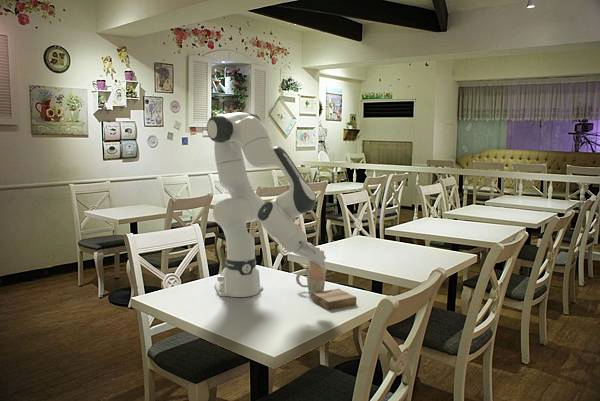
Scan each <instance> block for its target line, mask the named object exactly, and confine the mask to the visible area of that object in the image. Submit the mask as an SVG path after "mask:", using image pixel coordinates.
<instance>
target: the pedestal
mask: <svg viewBox="0 0 600 401" xmlns="http://www.w3.org/2000/svg"><path fill="white" fill-rule="evenodd" d="M312 302H314V303H316V304H318V305H319V306H321V307H323V308H325V309H326V310H328V311H332V310H336V309H342V308H348V307H351V306H357V296H355V295H354V294H351V293H349V292H347V291H345V290H343V289H340V288H336V289H329V290H328V289H327V290H324V291H322V292H316V293H313V294H312Z"/></svg>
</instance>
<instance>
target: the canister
mask: <svg viewBox="0 0 600 401" xmlns="http://www.w3.org/2000/svg"><path fill="white" fill-rule="evenodd" d="M316 248H317V249H319V250H320V251H321V252H322V253H323V254H324V255H325V251H324V250H321V248H320V247H316ZM315 254H316V253H315ZM309 266H310V267H309V279H310V280H313V281H320V280H323V279H324V267H325V266H324V267H323V268H321V267H319V266H318V265H317V264H316V263H314V262H312V261H309Z"/></svg>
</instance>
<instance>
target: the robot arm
mask: <svg viewBox="0 0 600 401" xmlns="http://www.w3.org/2000/svg"><path fill="white" fill-rule="evenodd" d="M206 124H207V125H206V131H207V135H208V137H209V138H210V139H211V141H213V142H214V143H213V144H214V145H213V146H214V158H215V165H216V169H217V175H218V179H219V180H218V181H219V184H220V186H222V188H224V189H225V190H226V191H227V192H228V193H229V195H230V197H228V198H225V199H223V200H221V201H219V202H216V203H215V204H214V207H213V210H212V216H213V218H214V221H215V224H217V225H218V226H219V227H220V228H221V229H222V231H223V233H224V237H225V243H226V259H225V264H224V265H225V267H224V268H223V269H222V271H221V272H220V273H219V275H217V282H216V283H214V288H215V291H217V294H218V296H219V297H220V296H221V297H231V298H247V297H253V296H255V295H257V294H259V293H260V292H261V291H262V290H264V287H263V285H261V280H260V271H259V269H258V268H257V267H256V266H257V260H256V256H255V251H256V250H255V238H254V237H253V236H252V235H251V234H250V233H249V231H248V227H247V224H249V223H253V222H256V221H258V222H259V223H260V224H261V226H262V227H263V229H265V231H267V233H269V235H271V237H274V238H275V239H276V240H277V242H278V243H279V244H280V245H281V246H282V248H284V249H285V250H286V252H288V253H293V254H294V255H296V256H299V257H301V258H304V259H306V260H307V261H308V262H310V261H312V262H314V263H316V264H317V265H318V266H319V267H321V268H323V267H326V263H325V260H326V258H327V257H326V255H325V253H324V254H323V253H322V252H321V251H320V250H321V249H320V250H319V249H317V248H318V247H317V246H315V245H314V244H313V243H311V242H308V240H307V237H308V235H307V233H306V232H305V231H304V230H303V229H302V228H301V227H300V226H299V225H298V224H297V223H295V222H294V221H293V219H295V218H298V216H299V217H300V216H301V215H303V214H305V213H308V212H310V211H312V210H314V207H315V205H316V202H317V197H316V193H315V192H314V191H313V189H312V187H311V186H310V185H309V183H307V182H306V180H305V178H304V177H303V175H302V174H301V172H300V171H299V169H298V168H297V166H296V165H295V163H294V162H293V160H292V159H291V157H290V155H289V154H288V153H287V152H286V151H285V150H284V149H283V148H282V147H280V146H276V145H275V144H274V143H273V141H272V139H271V138H270V135H269V133H268V131H267V130H266V128H265V126H264V124H263V123H262V121H261V119H260V117H259V115H257V114H255V113H253V112H232V113H231V112H230V113H224V114H216V115H212V116H210V118H209V119H208V121H207V123H206ZM243 156H244V157H245V159H246V161H247V162H248V163H249V164H250V166H253V167H256V168H270V167H278V168H279V169H280V170H281V172H282V173H283V175H284V177H285V178H286V180H287V181H288V183H289V184H290V188H289V189H288V190H287V191H285V192H283V193H281V194H279V195H278V196H276V197H274V198H273V199H271V200H270V201H266V202H265V201H264V199H263V198H261V196H259V195H258V194H257V192H255V190H254V188H253V186H252V184H251V182H250V179H249V177H248V173H247V168H246V165H245V164H246V163H245V160H244V157H243ZM315 253H316V254H315Z"/></svg>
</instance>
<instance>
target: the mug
mask: <svg viewBox="0 0 600 401" xmlns="http://www.w3.org/2000/svg"><path fill="white" fill-rule="evenodd" d="M309 267H310V265H309V266H306V267H305V270H301V271H299V272H298V273H297V274H296V276H295V281H296V284H297V285H299V286H300V287H301V288H307V289H308V293H309V294H310V295H311V294H312V295H313V293H316V292H322V291H325V284H326V276H327V267H326V266H324V279H323V280H320V281H313V280H310V279H309ZM301 275H306V281H307V284H303V283H301V281H300V277H301Z"/></svg>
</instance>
